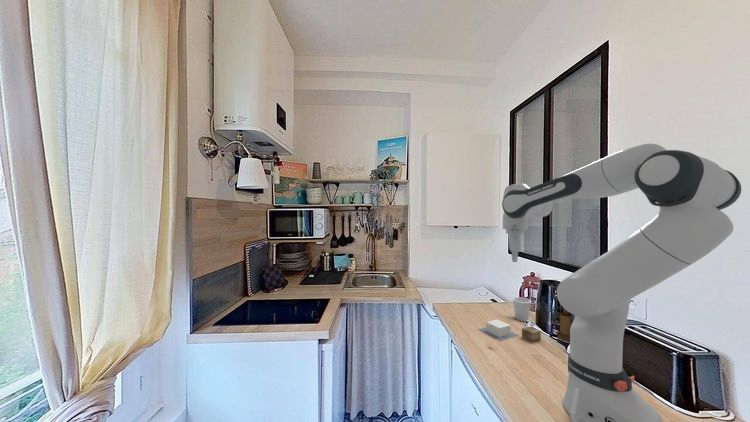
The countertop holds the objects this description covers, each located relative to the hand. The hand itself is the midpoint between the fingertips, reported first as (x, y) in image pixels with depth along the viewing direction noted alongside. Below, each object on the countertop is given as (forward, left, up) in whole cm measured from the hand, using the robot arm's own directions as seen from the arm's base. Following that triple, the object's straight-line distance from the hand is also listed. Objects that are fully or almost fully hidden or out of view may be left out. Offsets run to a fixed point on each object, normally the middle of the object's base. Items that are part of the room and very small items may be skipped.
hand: (514, 259), depth 106 cm
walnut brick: (+2, -14, -36) cm, 39 cm away
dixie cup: (+19, -32, -36) cm, 52 cm away
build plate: (+12, -6, -36) cm, 38 cm away
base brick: (+12, -6, -35) cm, 37 cm away
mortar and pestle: (-4, -28, -36) cm, 46 cm away
